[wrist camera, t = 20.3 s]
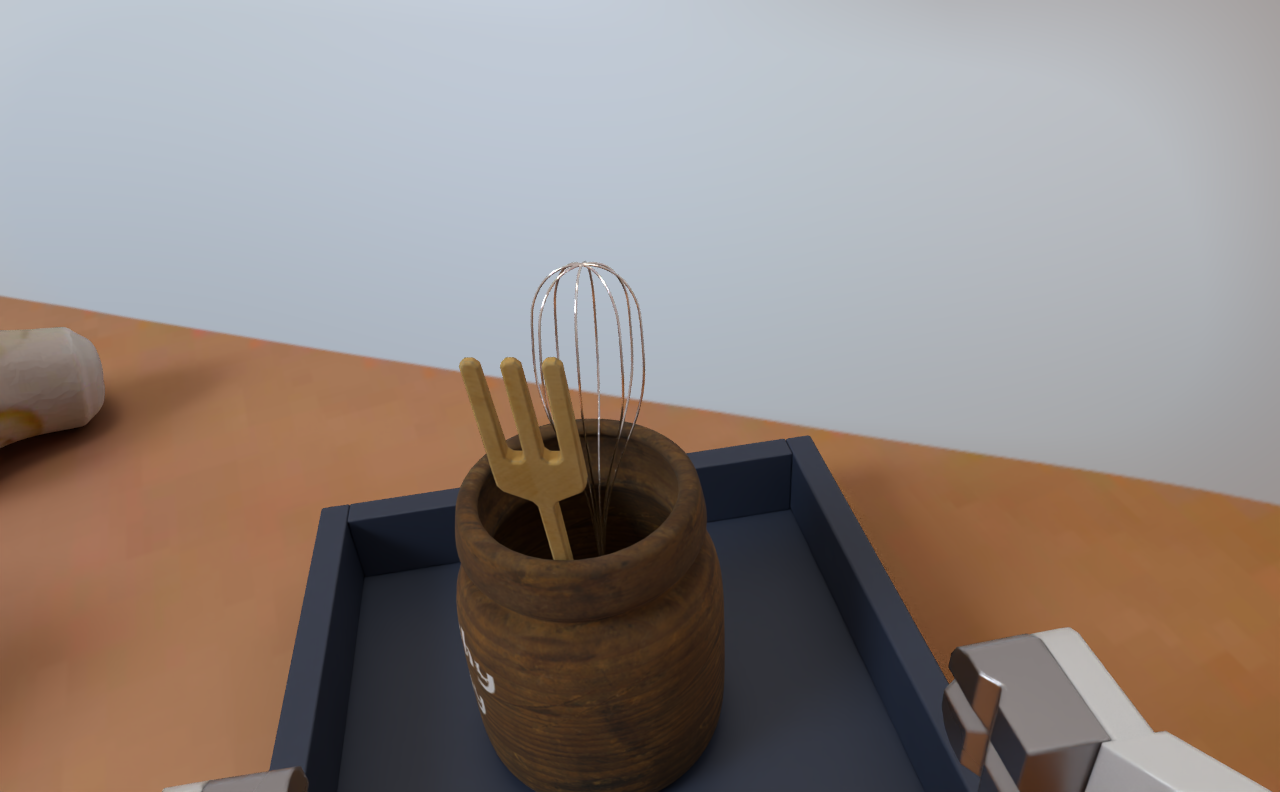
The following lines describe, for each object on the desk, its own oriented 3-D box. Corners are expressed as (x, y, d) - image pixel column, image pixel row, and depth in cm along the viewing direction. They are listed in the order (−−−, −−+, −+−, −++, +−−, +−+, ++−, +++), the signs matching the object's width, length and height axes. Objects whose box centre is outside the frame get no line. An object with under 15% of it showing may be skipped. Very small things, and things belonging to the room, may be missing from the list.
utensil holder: (727, 617, 24) (723, 195, 18) (723, 841, 19) (715, 361, 13) (514, 611, 25) (433, 200, 18) (454, 826, 20) (311, 361, 13)
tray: (806, 503, 29) (810, 434, 27) (1026, 944, 18) (1053, 866, 16) (344, 577, 27) (321, 507, 26) (263, 1110, 16) (213, 1043, 15)
